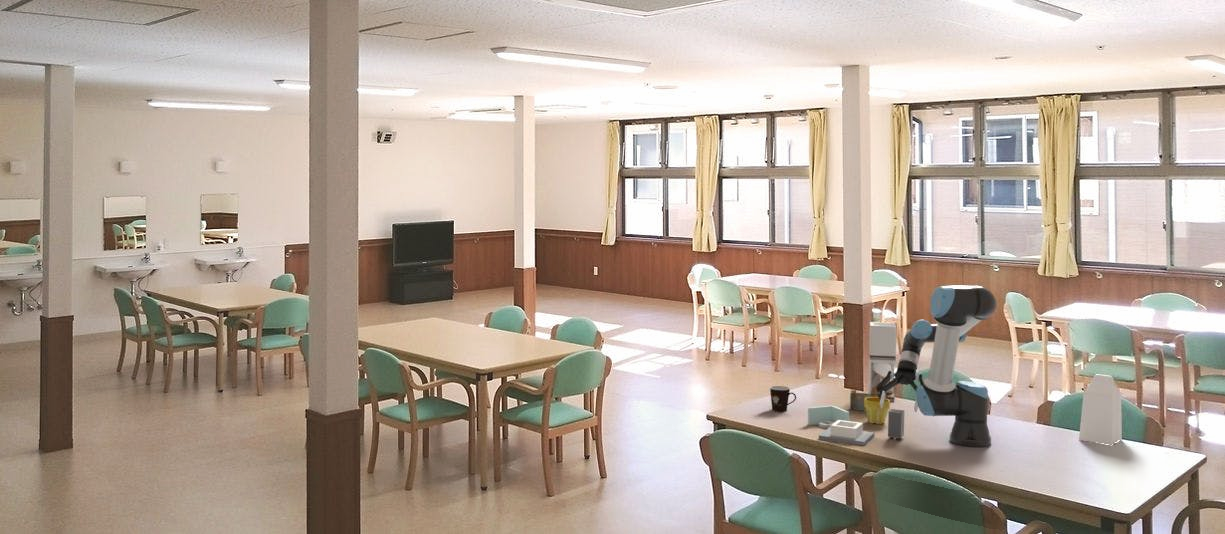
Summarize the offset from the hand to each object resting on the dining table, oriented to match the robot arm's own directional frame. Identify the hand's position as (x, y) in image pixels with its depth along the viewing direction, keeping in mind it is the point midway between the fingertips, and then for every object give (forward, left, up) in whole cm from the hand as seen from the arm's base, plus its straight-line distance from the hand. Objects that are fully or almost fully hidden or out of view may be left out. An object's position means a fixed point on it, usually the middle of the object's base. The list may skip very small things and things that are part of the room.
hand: (897, 408), depth 381 cm
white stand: (+52, -37, -11) cm, 64 cm away
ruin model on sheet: (+38, -14, -11) cm, 42 cm away
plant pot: (+19, -6, -11) cm, 22 cm away
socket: (+5, +21, -11) cm, 25 cm away
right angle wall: (+22, +17, -11) cm, 30 cm away
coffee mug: (+52, +19, -11) cm, 56 cm away
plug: (-4, +4, -11) cm, 12 cm away
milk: (-40, -67, -11) cm, 79 cm away
